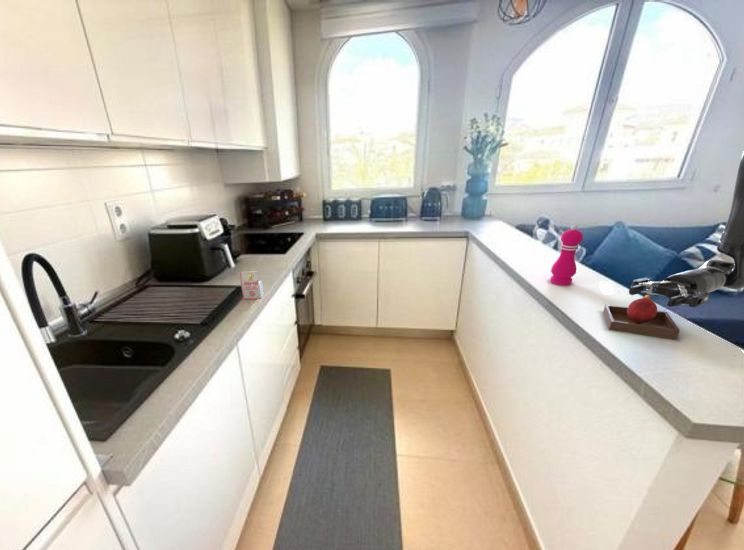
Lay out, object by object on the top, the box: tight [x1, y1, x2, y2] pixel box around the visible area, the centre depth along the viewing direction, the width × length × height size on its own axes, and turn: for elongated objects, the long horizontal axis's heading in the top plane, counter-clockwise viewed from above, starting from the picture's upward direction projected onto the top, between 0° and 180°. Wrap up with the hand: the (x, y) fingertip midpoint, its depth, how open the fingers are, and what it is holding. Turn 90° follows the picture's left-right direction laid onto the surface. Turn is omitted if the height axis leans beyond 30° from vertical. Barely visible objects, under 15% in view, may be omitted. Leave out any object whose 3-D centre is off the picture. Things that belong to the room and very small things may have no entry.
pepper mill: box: [549, 224, 584, 286], centre depth 116 cm, size 7×7×20 cm
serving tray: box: [602, 304, 681, 340], centre depth 91 cm, size 13×11×2 cm
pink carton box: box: [239, 270, 265, 300], centre depth 125 cm, size 4×7×10 cm, turn 85°
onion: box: [627, 294, 658, 323], centre depth 89 cm, size 6×6×8 cm
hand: (650, 296), depth 88 cm, fingers open, 8 cm apart
